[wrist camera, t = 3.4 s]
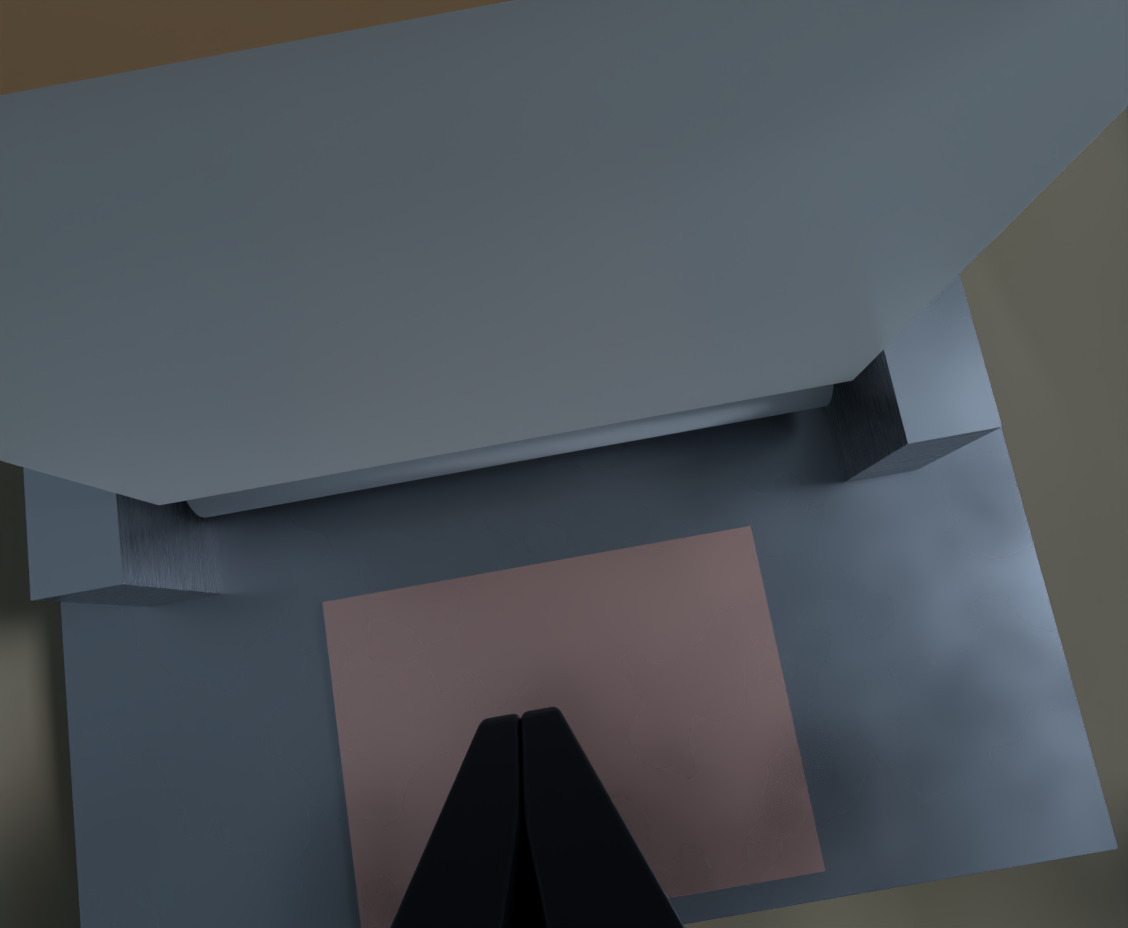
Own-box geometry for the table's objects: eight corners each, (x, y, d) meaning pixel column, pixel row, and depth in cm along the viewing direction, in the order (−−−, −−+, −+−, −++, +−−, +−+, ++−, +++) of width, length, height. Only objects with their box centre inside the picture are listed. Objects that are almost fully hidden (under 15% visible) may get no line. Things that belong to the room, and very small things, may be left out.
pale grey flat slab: (822, 437, 16) (2579, -1107, 2) (224, 544, 16) (-2636, -96, 2) (792, 313, 16) (2004, -1705, 2) (211, 417, 16) (-2156, -864, 2)
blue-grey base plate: (1086, 835, 16) (1272, 914, 12) (118, 1003, 16) (-65, 1144, 12) (854, -17, 19) (928, -209, 15) (58, 130, 20) (-101, -17, 15)
